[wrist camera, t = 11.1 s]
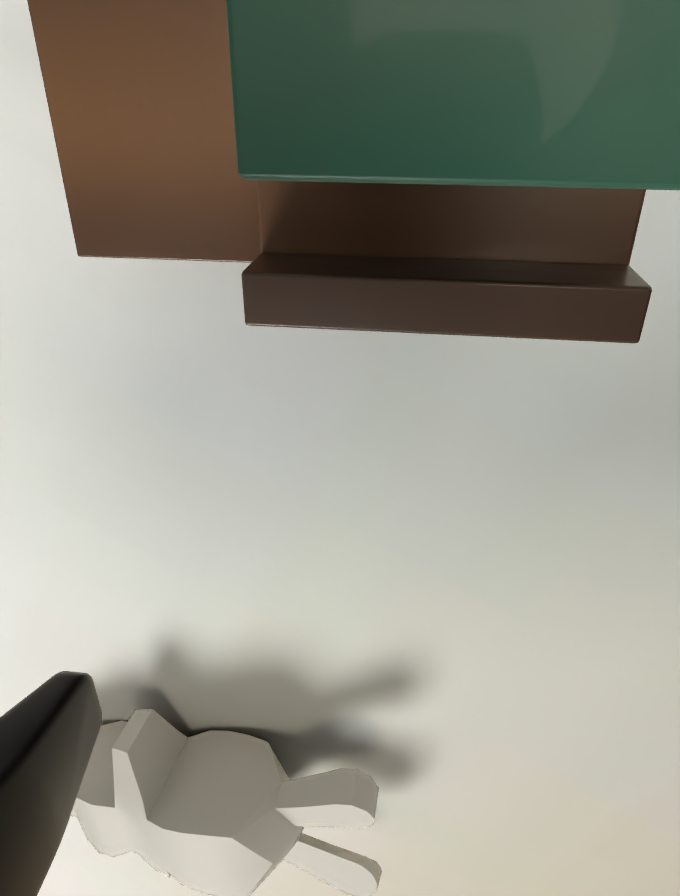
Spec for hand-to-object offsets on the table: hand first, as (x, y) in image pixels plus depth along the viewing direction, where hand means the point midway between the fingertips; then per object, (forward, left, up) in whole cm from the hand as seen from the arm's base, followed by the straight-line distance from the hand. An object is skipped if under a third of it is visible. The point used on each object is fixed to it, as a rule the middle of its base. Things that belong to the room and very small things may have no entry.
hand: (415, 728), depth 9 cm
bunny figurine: (-21, +8, -13) cm, 26 cm away
